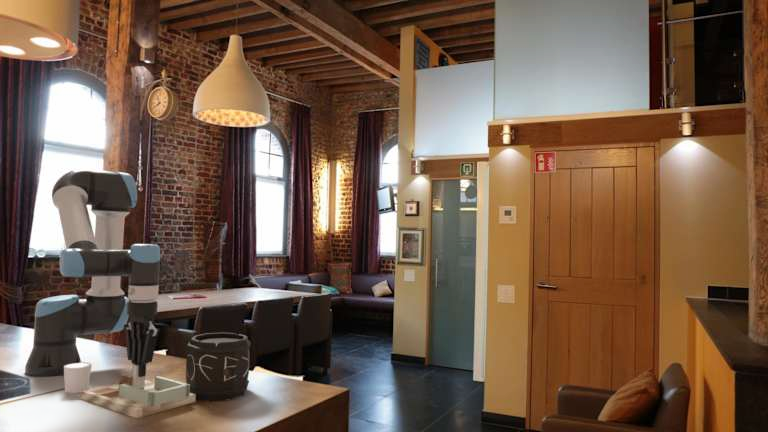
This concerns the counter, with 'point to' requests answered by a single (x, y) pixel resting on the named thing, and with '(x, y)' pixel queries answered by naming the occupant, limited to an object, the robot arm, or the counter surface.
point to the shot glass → (77, 377)
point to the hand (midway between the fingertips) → (138, 387)
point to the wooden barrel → (218, 365)
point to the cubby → (167, 392)
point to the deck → (112, 400)
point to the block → (126, 379)
